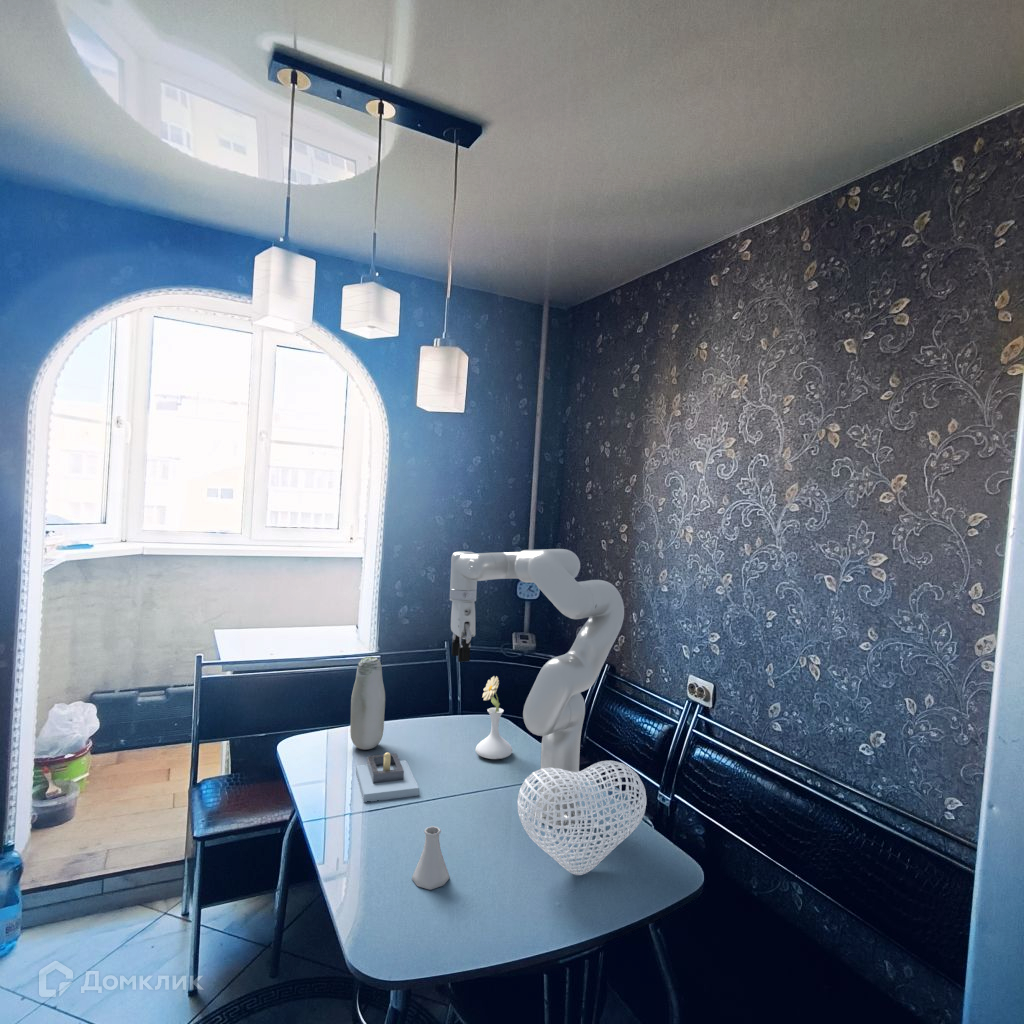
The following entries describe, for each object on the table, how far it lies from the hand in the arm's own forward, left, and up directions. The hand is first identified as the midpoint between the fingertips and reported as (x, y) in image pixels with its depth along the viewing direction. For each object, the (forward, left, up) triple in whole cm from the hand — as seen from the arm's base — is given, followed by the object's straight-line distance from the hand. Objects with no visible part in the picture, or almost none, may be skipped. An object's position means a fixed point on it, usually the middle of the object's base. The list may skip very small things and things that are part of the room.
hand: (460, 657), depth 174 cm
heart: (-54, -12, -33) cm, 64 cm away
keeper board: (-2, +20, -33) cm, 38 cm away
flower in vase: (+8, -14, -33) cm, 37 cm away
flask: (-47, +18, -33) cm, 60 cm away
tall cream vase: (+24, +22, -33) cm, 46 cm away
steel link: (+1, +20, -31) cm, 37 cm away
